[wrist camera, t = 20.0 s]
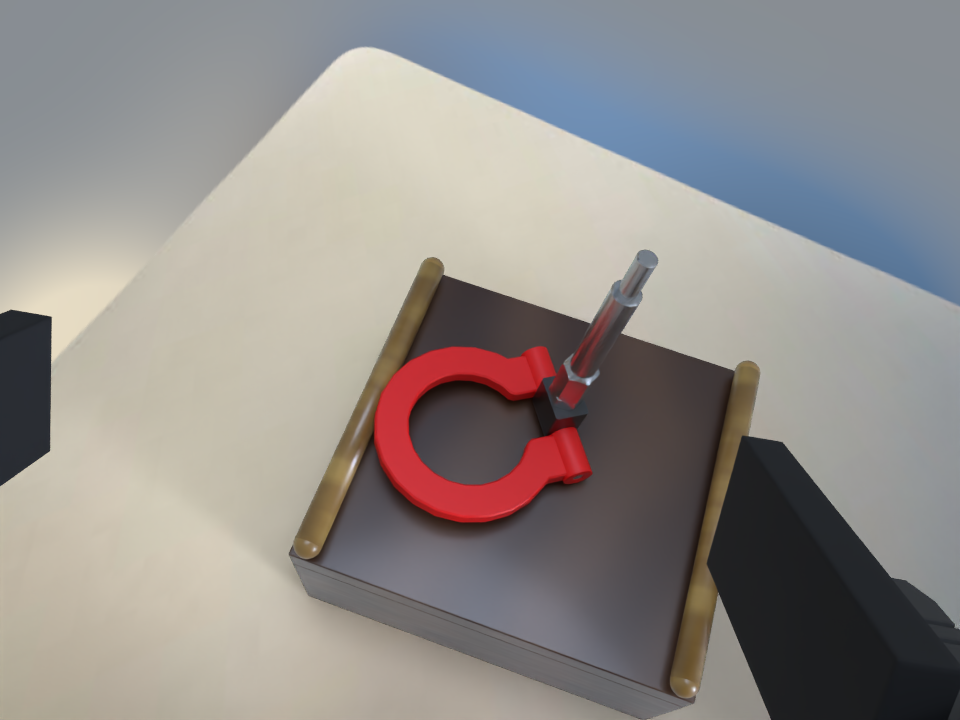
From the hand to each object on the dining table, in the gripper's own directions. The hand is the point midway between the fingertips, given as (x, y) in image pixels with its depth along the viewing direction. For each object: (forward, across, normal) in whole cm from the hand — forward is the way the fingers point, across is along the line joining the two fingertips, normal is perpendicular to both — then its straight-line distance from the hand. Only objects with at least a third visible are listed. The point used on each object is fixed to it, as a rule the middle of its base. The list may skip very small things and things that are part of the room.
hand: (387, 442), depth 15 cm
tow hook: (+21, +2, -8) cm, 22 cm away
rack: (+27, +5, -14) cm, 31 cm away
